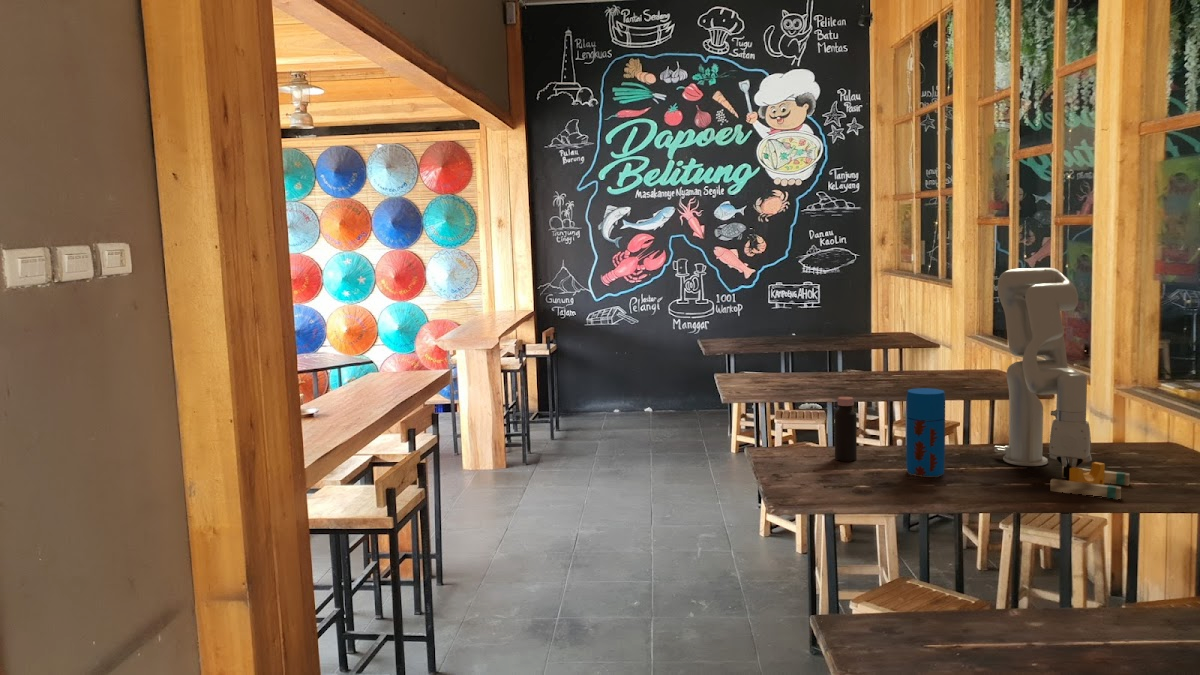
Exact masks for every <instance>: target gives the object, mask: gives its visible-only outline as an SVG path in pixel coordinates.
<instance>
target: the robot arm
mask: <svg viewBox="0 0 1200 675" xmlns="http://www.w3.org/2000/svg"><path fill="white" fill-rule="evenodd" d="M997 294H998V298H999V301H1000V304H1001V306H1002V308H1003V312H1004V316H1005V325H1006V334H1007V335H1006V336H1007V344H1008V348H1009V351H1010V353H1011V354H1012V355H1013V356H1015V357H1022V360H1021V361H1020V360H1019V361H1014V362H1013V363H1011V364H1010V365H1009V366H1008V367H1007V370H1006V383H1007V387H1008V397H1009V399H1008V400H1009V417H1008V418H1009V420H1008V421H1009V423H1008V424H1009V426H1008V445H1005V446H1002V445H994V452H995V453H997V454H1004V456H1003V457H1002V458H1003V461H1004V462H1005V463H1007V464H1010V465H1015V466H1022V467H1042V466H1045V465H1047V464H1049V461H1048V460H1049V458H1050V459H1053V460H1056V461H1058V462H1059V463H1060V464H1061V466H1062V467H1064V475H1063V476H1064V477H1066V478H1065V480H1067V481H1069V474H1070V468H1073V467H1075V468H1078V466H1080V465H1081V464H1083V463H1085V464H1086V463H1090V462H1091V461H1092V460H1093V459H1092V455H1091V453H1092V436H1091V428H1090V424H1089V421H1087V404H1088V403H1087V395H1088V393H1087V392H1088V378H1087V375H1086V374H1084V373H1082V372H1078V371H1076V370H1075V369H1074V368H1070V367H1068V366H1069V365H1068V359H1067V350H1066V349H1067V348H1066V342H1065V337H1064V334H1065V328H1064V324H1063V319H1062V315H1061V312H1067V311H1068V312H1069V311H1073V310H1075V309H1076V308H1077V307H1078V304H1079V294H1078V290H1077V289H1076V286H1075V285H1074V284H1073V283H1072V281H1071V280H1070V279H1069V278H1068V277H1066V275H1064V274H1063V273H1062V272H1061V271H1060V270H1059V269H1057V268H1054V267H1031V268H1030V267H1028V268H1027V267H1026V268H1024V267H1023V268H1022V267H1021V268H1020V267H1019V268H1012V269H1008V270H1005V271H1004V272H1002V273H1001V274H1000V276H999V277H998V280H997ZM1038 357H1044V358H1045V359H1043V360H1039V359H1038ZM1037 395H1039V396H1045V395H1056V406H1055V407H1056V409H1055V410H1050V416H1053V417H1054V418H1055V419H1053V420H1052V422H1051V428H1050V434H1049V448H1048V449H1049V450H1048V451H1049V455H1048V458H1047V457H1045V456H1043V446H1044V445H1043V444H1044V443H1043V442H1044V441H1043V439H1044V437H1043V436H1044V406H1043V403H1042V401H1041V400H1040V398H1039V397H1038V396H1037ZM1069 458H1071V459H1072V460H1071V464H1070V462H1069Z"/></svg>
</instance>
